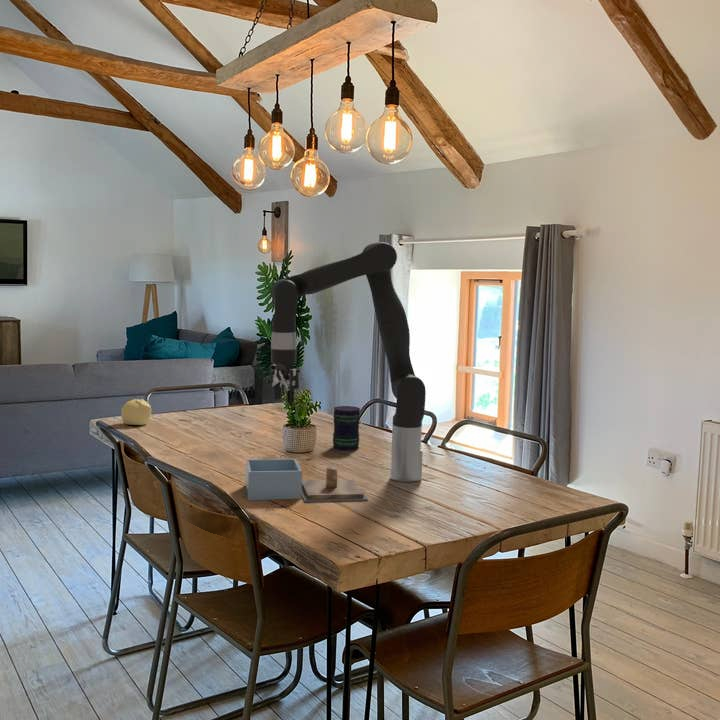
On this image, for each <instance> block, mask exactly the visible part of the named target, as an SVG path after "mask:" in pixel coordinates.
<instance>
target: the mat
mask: <svg viewBox="0 0 720 720" xmlns="http://www.w3.org/2000/svg"><path fill="white" fill-rule="evenodd" d="M355 483H356V484H357V482H356V481H355ZM358 487H359V488H360V486H359V485H358ZM360 490H361V491H362V492H363V490H362V488H360ZM363 494H364V498H347V499H307V497H306V494H305V492H304V490H303V488H302V495H301V498H302V499H303V501H304V503H328V502H334V503H335V502H365V501H367V502H368V500H369V499H368V497H367V496H366V495H365V493H364V492H363Z"/></svg>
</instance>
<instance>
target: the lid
mask: <svg viewBox="0 0 720 720" xmlns="http://www.w3.org/2000/svg"><path fill="white" fill-rule="evenodd" d="M355 482H356V481H355V480H354V478H353V479H349V478H348V479H338V468H337V467H331V466H330V467H327V468H326V479H307V480H306V479H304V480H303V479H302V488H303V490H304V492H305V494H306V497H307V499H347V498H364V495H365V493H364V491H363V490H362V489H361V488H360V486H359V485H358V483H357V482H356V483H355ZM358 486H359V487H358ZM360 489H361V490H362V491H361V490H360ZM363 493H364V494H363Z"/></svg>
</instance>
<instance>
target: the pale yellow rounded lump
mask: <svg viewBox="0 0 720 720" xmlns="http://www.w3.org/2000/svg"><path fill="white" fill-rule="evenodd" d="M152 411H153V410H152V406H151V405H150V404H149V402H147V401H146V400H145V399H143V398H139V399H138V398H133V399H132V400H129V401H126V403H124V404H123V406H122V408H121V413H120V414H121V416H120V417H121V420H122V422H123V423H124V424H125V425H132V426H145V425H146V424H147V423H148V422H150V420H151V416H152Z"/></svg>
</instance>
